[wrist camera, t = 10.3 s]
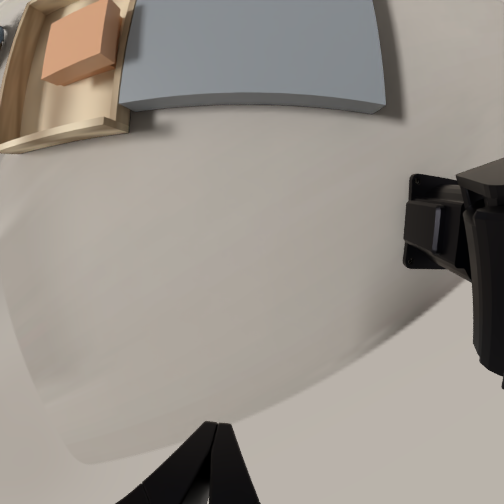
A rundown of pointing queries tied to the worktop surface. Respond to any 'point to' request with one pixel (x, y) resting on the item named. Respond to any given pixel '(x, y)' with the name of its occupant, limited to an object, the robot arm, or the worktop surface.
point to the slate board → (253, 54)
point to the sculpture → (1, 36)
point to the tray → (57, 87)
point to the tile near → (81, 42)
